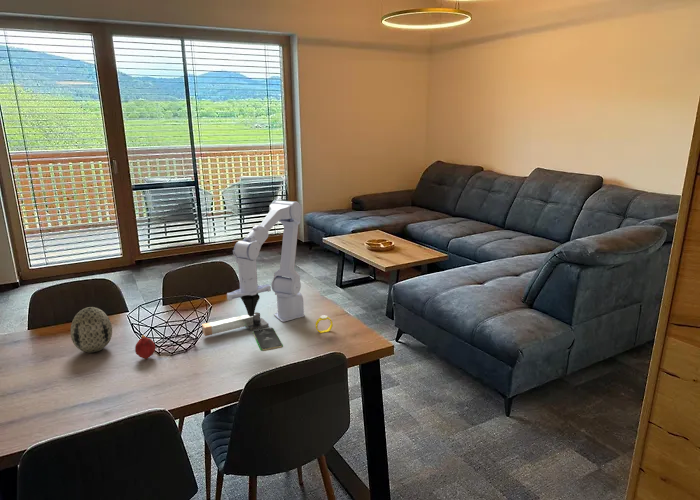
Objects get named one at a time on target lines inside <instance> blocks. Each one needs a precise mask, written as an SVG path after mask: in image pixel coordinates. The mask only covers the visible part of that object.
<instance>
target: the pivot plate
mask: <svg viewBox="0 0 700 500" xmlns="http://www.w3.org/2000/svg"><path fill="white" fill-rule="evenodd" d="M260 320H261V322H260V323H258V324H253V325H249V326H245V328H246V329H248V331H249V332H253V331H255V330H260V329H265V328H269V326H270V325H269V322H267V321H266V320H265V319H264V318H262V317H260Z"/></svg>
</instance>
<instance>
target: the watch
mask: <svg viewBox="0 0 700 500" xmlns="http://www.w3.org/2000/svg"><path fill="white" fill-rule="evenodd" d="M325 320H329V322H330V323H329V324H330V325H329V327H328V328H327V329H324V330H320V329H318V325H319V323H320V322H321V321H325ZM314 325H315V328H316V331H317V332H319V333H320V334H324V333H329V332H330V331H331V330H332V328H333V325H334V324H333V320H332V319H331V317H329V315H325V314H323V315H320V316H319V318H318V319H316V321H315V324H314Z"/></svg>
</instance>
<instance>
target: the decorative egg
mask: <svg viewBox="0 0 700 500" xmlns="http://www.w3.org/2000/svg"><path fill="white" fill-rule="evenodd" d="M112 336H113V326H112V322H111V320H110V317H109V316H108V315H107V314H106V312H105V311H103V310H102V309H100V308H98V307H95V306H89V307H85V308H84V307H83V308H82V309H81V310H79V311H78V312H76V314H75V316H74V317H73V319H72V322H71V325H70V338H71V342H72V343H73V345H74V346H75V347H76V348H77V349H78V350H79V351H82V352H85V353H90V354H91V353H96V352H99V351H101V350H103V349H105V348H106V347H107V346H108V345H109V343H110V341H111V339H112Z"/></svg>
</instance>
